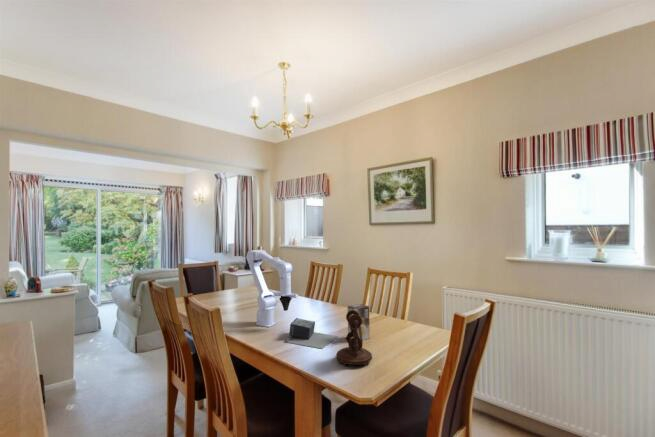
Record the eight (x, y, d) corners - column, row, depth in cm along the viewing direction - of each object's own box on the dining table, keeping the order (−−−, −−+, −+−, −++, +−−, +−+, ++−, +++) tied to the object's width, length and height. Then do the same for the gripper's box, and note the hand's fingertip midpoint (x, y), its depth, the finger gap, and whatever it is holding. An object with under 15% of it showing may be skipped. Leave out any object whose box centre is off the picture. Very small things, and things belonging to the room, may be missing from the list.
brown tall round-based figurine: (375, 367, 123) (375, 316, 124) (338, 369, 122) (338, 317, 123) (367, 352, 138) (367, 307, 138) (334, 353, 137) (334, 308, 137)
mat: (285, 342, 151) (285, 340, 151) (303, 331, 167) (303, 329, 167) (322, 349, 142) (322, 346, 142) (337, 336, 158) (337, 334, 158)
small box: (288, 336, 155) (308, 340, 153) (290, 323, 155) (310, 327, 153) (295, 329, 165) (314, 333, 163) (296, 317, 165) (315, 320, 163)
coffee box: (362, 335, 161) (362, 303, 161) (369, 338, 155) (369, 306, 155) (347, 338, 156) (347, 305, 157) (354, 342, 151) (354, 308, 151)
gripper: (270, 285, 170) (270, 310, 169) (292, 287, 163) (292, 313, 163) (278, 283, 176) (278, 307, 176) (299, 285, 170) (300, 310, 169)
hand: (285, 310), depth 170 cm, fingers closed
